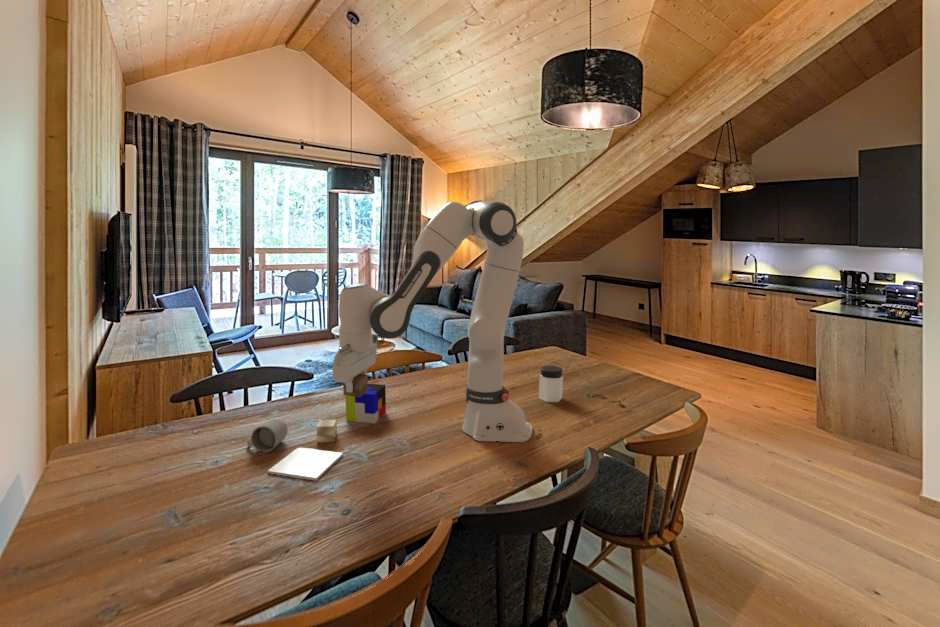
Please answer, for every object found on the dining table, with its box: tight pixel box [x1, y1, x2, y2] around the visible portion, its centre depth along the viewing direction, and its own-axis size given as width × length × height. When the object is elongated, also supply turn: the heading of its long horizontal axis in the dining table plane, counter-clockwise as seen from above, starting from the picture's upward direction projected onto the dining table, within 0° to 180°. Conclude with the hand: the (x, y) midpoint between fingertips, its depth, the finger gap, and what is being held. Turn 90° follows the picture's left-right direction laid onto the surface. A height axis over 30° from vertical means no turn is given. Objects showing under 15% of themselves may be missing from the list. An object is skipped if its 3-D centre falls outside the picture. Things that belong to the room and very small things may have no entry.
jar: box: [538, 365, 564, 403], centre depth 180 cm, size 9×8×12 cm
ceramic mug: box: [246, 418, 288, 453], centre depth 138 cm, size 11×8×8 cm
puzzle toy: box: [344, 383, 387, 424], centre depth 161 cm, size 10×10×10 cm
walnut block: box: [342, 374, 368, 397], centre depth 136 cm, size 5×5×5 cm
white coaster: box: [267, 446, 344, 482], centre depth 128 cm, size 14×14×1 cm
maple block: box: [316, 419, 338, 443], centre depth 144 cm, size 5×5×5 cm
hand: (355, 387), depth 136 cm, fingers closed on walnut block, 5 cm apart
